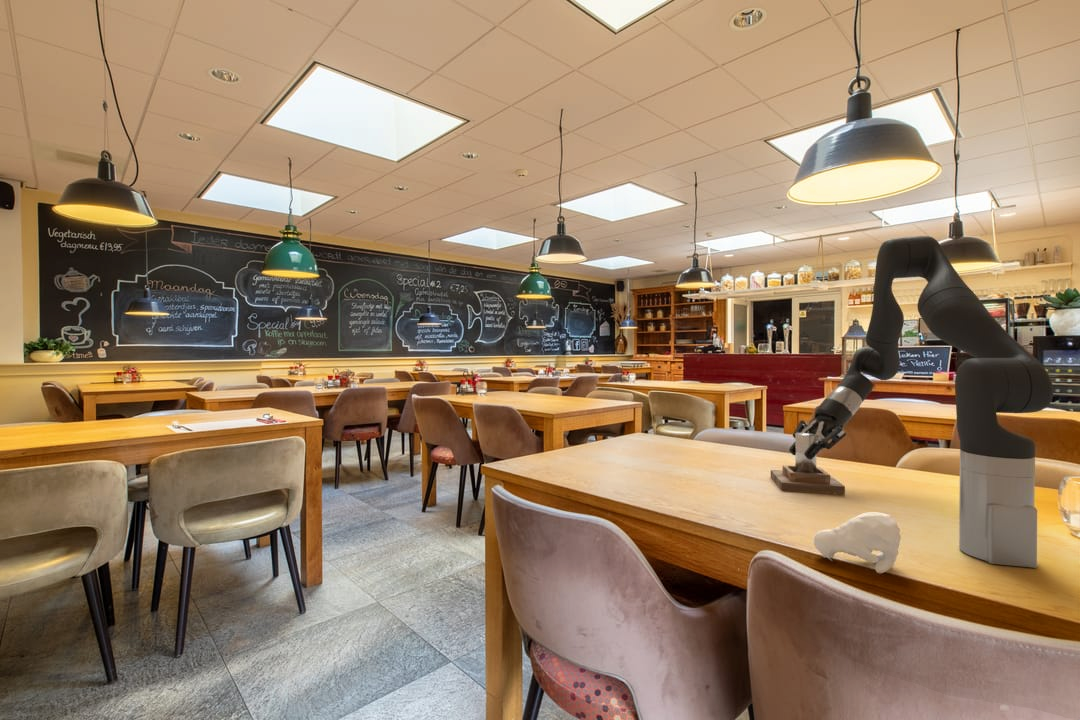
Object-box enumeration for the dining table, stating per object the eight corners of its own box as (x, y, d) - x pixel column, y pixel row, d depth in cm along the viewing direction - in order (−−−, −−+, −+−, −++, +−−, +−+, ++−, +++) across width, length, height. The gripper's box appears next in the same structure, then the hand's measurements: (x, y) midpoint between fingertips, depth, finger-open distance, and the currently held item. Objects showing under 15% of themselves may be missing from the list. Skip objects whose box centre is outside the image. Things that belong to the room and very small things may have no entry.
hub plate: (844, 494, 118) (845, 478, 118) (781, 490, 122) (781, 474, 122) (827, 480, 131) (827, 465, 131) (770, 477, 135) (770, 462, 135)
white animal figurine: (901, 520, 73) (810, 515, 79) (907, 577, 73) (815, 568, 79) (895, 509, 79) (810, 504, 85) (901, 562, 79) (816, 554, 85)
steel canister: (818, 475, 124) (818, 435, 123) (797, 474, 125) (797, 435, 125) (813, 470, 128) (813, 433, 128) (793, 469, 129) (793, 432, 129)
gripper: (809, 395, 135) (771, 440, 132) (853, 400, 121) (812, 450, 118) (825, 414, 136) (788, 459, 134) (870, 420, 122) (830, 471, 120)
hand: (799, 454), depth 126 cm, fingers closed on steel canister, 4 cm apart
